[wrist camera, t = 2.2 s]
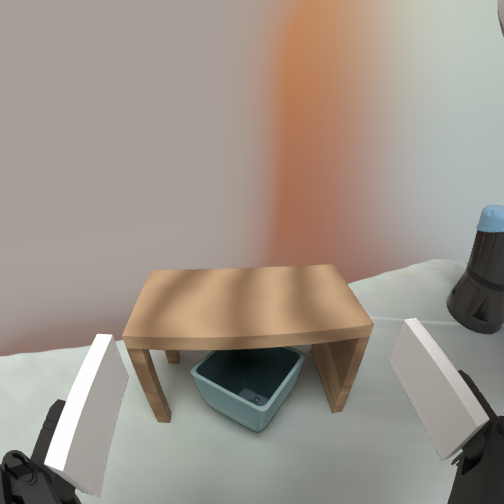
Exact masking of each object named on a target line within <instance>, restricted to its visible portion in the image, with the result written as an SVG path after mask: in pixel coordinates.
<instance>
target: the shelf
mask: <svg viewBox="0 0 504 504" xmlns="http://www.w3.org/2000/svg"><path fill="white" fill-rule="evenodd" d="M372 328H373V322H372V321H371V319H370V318H369V316H368V315H367V313H366V312H365V310H364V309H363V307H362V306H361V304H360V303H359V301H358V300H357V298H356V297H355V295H354V294H353V292H352V291H351V289H350V288H349V286H348V285H347V283H346V282H345V281H344V279H343V278H342V276H341V275H340V273H339V272H338V270H337V269H336V267H335V266H334V265H333V264H332V265H312V266H311V265H310V266H287V267H261V268H231V269H201V270H199V269H197V270H159V271H158V270H157V271H151V272H150V274H149V276H148V278H147V280H146V283H145V285H144V287H143V289H142V291H141V294H140V296H139V298H138V300H137V303H136V305H135V307H134V309H133V311H132V314H131V316H130V318H129V321H128V323H127V326H126V328H125V330H124V333H123V335H122V337H123V340H124V342H125V345H126V348H127V351H128V353H129V356H130V359H131V361H132V364H133V366H134V369H135V371H136V374H137V376H138V379H139V381H140V383H141V386H142V388H143V390H144V393H145V395H146V397H147V399H148V402H149V404H150V406H151V408H152V410H153V412H154V414H155V416H156V418H157V420H158V422H167V423H170V419H171V411H170V409H169V406H168V404H167V401H166V398H165V396H164V393H163V390H162V388H161V385H160V382H159V379H158V376H157V374H156V371H155V368H154V365H153V362H152V359H151V356H150V352H149V349H153V350H165V352H166V356H167V359H168V363H178V362H179V351H178V350H234V349H256V348H272V347H285V346H297V345H307V344H312V347H311V351H312V354H313V357H314V360H315V363H316V366H317V369H318V372H319V375H320V378H321V380H322V383H323V386H324V389H325V392H326V395H327V399H328V402H329V405H330V408H331V411H332V413H335V412H340V411H342V408H343V406H344V404H345V401H346V399H347V397H348V394H349V392H350V389H351V387H352V384H353V382H354V379H355V377H356V374H357V371H358V369H359V366H360V363H361V360H362V358H363V355H364V352H365V349H366V346H367V343H368V340H369V337H370V334H371V331H372Z"/></svg>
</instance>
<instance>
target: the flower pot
mask: <svg viewBox="0 0 504 504" xmlns="http://www.w3.org/2000/svg"><path fill="white" fill-rule="evenodd" d="M304 358H305V353H303V352H301V351H299V350H296V349H294V348H291V347H288V346H285V347H272V348H256V349H234V350H212V351H211V352H210V353H209V354H208V355H207V356H206V357H205V358H203V359H202V360H201V361H200V362H199V363H198V364H196V365H195V366H194V367H193V368H192V369H191V371H190V372H191V374H192V377H193V379H194V381H195V383H196V386H197V388H198V390H199V392H200V394H201V396H202V397H203V399H204V400H205V401H206V402H207V403H208V404H209V405H210V406H211V407H212V408H213V409H215V410H216V411H218V412H220V413H222V414H223V415H225V416H227V417H229V418H231V419H232V420H234V421H236V422H238V423H240V424H242V425H244V426H245V427H247V428H249V429H251V430H253V431H256V432H259V431H261V430H263V429H264V427H265V426H266V425H267V423H268V422H269V421H270V419H271V418H272V417H273V415H274V414H275V412H276V411H277V410H278V408H279V407H280V405H281V404H282V403H283V401H284V400H285V398H286V397H287V396H288V394H289V393H290V391H291V390H292V388H293V387H294V385H295V383H296V381H297V378H298V375H299V373H300V370H301V367H302V364H303V361H304ZM256 398H258V399H259V401H255V399H256Z"/></svg>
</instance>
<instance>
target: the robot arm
mask: <svg viewBox="0 0 504 504" xmlns="http://www.w3.org/2000/svg"><path fill="white" fill-rule="evenodd" d="M498 17H499V22H500V26H501V30H502V34H503V36H504V0H498ZM447 305H448V309H449V311H450V312H451V314H452V315H453V316H454V318H455V319H456V320H458V321H459V322H460V323H461V324H463V325H464V326H466V327H468V328H470V329H472V330H474V331H477V332H481V333H494V332H496V331H498V330H499V329H500V328H501V326H502V324H503V322H504V206H501V205H488V206H486V207H485V208H484V209H483V210H482V212H481V216H480V220H479V224H478V225H477V234H476V237H475V241H474V245H473V248H472V252H471V255H470V259H469V262H468V265H467V268H466V271H465V273H464V274H463V276H462V277H461V278H460V280H459V281H458V283H457V284H456V285H455V287H454V288H453V289H452V291H451V293H450V296H449V298H448V302H447ZM388 362H389V363H390V365H391V367H392V369H393V370H394V372H395V374H396V376H397V377H398V379H399V381H400V383H401V384H402V386H403V388H404V390H405V392H406V393H407V395H408V397H409V399H410V401H411V403H412V404H413V406H414V408H415V410H416V412H417V414H418V416H419V418H420V419H421V421H422V423H423V425H424V427H425V429H426V431H427V433H428V435H429V437H430V439H431V441H432V443H433V445H434V447H435V449H436V451H437V453H438V455H439V457H440V460H441V462H442V461H443V460H445V459H447V458H449V457H451V456H453V455H454V454H455V453H457V452H458V451H459V450H460V449H461V448H462V449H463V452H461V453H460V454H459V455H458V456H457V457H456V458H455V459H454V460H453V461H452V463H451V465H453V464H455V463H456V462H457V461H458V460H459V462H458V463H457V464H456V466H458V468H457V472H456V476H455V480H454V483H453V487H452V490H451V494H450V497H449V500H448V503H447V504H504V416H497V415H496V414H495V413H494V411H493V410H492V408H491V407H490V405H489V404H488V402H487V401H486V399H485V398H484V396H483V395H482V393H481V392H479V389H478V388H477V386H475V383H474V382H473V381H472V379H471V378H470V377H469V376H468V375H467V374H466V373H464V372H463V371H462V370H459V371H457V370H456V369H455V367H454V366H453V364H452V363H451V362H450V360H449V359H448V358H447V356H446V355H445V354H444V352H443V351H442V350H441V348H440V347H439V346H438V345H437V343H436V342H435V341H434V339H433V338H432V337H431V336H430V334H429V333H428V332H427V331H426V329H425V328H424V327H423V326H422V324H421V323H420V322H419V321H418V319H417V318H412V319H406V320H404V321H403V324H402V327H401V330H400V332H399V335H398V337H397V340H396V343H395V345H394V348H393V350H392V352H391V355H390V357H389V359H388ZM128 378H129V376H128V373H127V371H126V369H125V366H124V364H123V361H122V359H121V356H120V354H119V351H118V349H117V346H116V343H115V341H114V338H113V335H106V334H97V336H96V338H95V340H94V342H93V344H92V346H91V348H90V350H89V352H88V354H87V356H86V358H85V360H84V363H83V365H82V367H81V369H80V371H79V374H78V376H77V378H76V380H75V383H74V385H73V387H72V389H71V392H70V394H69V397H68V399H67V401H63V400H59V399H58V400H57V401H56V402H55V403H54V404H53V405H52V406H51V407H50V409H49V412H48V414H47V416H46V420H45V421H44V424H43V428H42V429H41V431H40V434H39V437H38V439H37V442H36V445H35V448H34V451H33V453H32V456H31V458H30V459H29V458H28V457H27V456H26V455H24V454H23V453H22V452H21V451H18V450H12V451H9V452H8V453H6V455H5V456H4V457H3V461H2V465H1V464H0V504H81V502H80V500H79V498H78V497H77V495H76V494H75V488H77V489H78V490H80V491H81V492H83V493H86V494H89V495H92V496H96V497H99V498H100V494H101V489H102V483H103V478H104V473H105V468H106V463H107V459H108V454H109V450H110V445H111V441H112V437H113V433H114V429H115V425H116V421H117V417H118V413H119V409H120V406H121V402H122V399H123V395H124V392H125V388H126V385H127V381H128Z"/></svg>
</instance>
